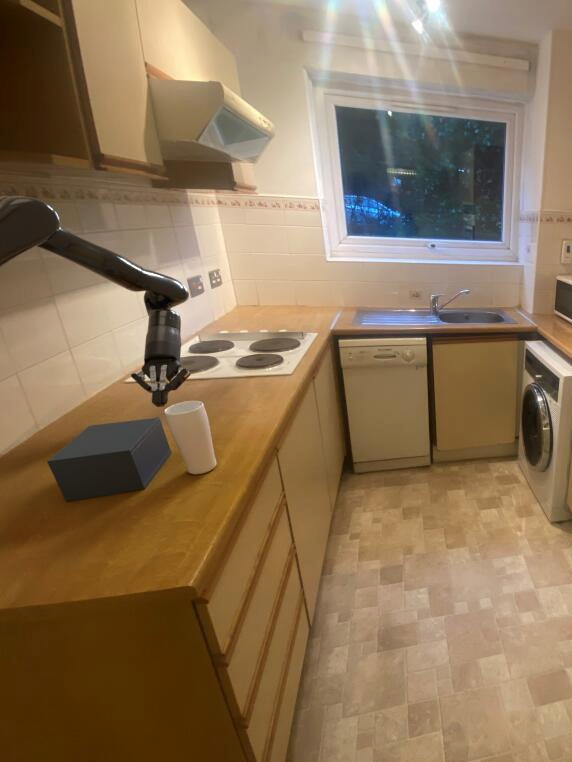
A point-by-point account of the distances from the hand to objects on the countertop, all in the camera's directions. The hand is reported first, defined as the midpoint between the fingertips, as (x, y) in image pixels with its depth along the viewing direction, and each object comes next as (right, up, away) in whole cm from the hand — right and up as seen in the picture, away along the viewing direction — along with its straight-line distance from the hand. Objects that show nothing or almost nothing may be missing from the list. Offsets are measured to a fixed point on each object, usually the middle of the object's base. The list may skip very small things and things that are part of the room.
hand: (159, 405), depth 111 cm
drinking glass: (+23, -13, -16) cm, 31 cm away
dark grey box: (+7, -14, -18) cm, 24 cm away
